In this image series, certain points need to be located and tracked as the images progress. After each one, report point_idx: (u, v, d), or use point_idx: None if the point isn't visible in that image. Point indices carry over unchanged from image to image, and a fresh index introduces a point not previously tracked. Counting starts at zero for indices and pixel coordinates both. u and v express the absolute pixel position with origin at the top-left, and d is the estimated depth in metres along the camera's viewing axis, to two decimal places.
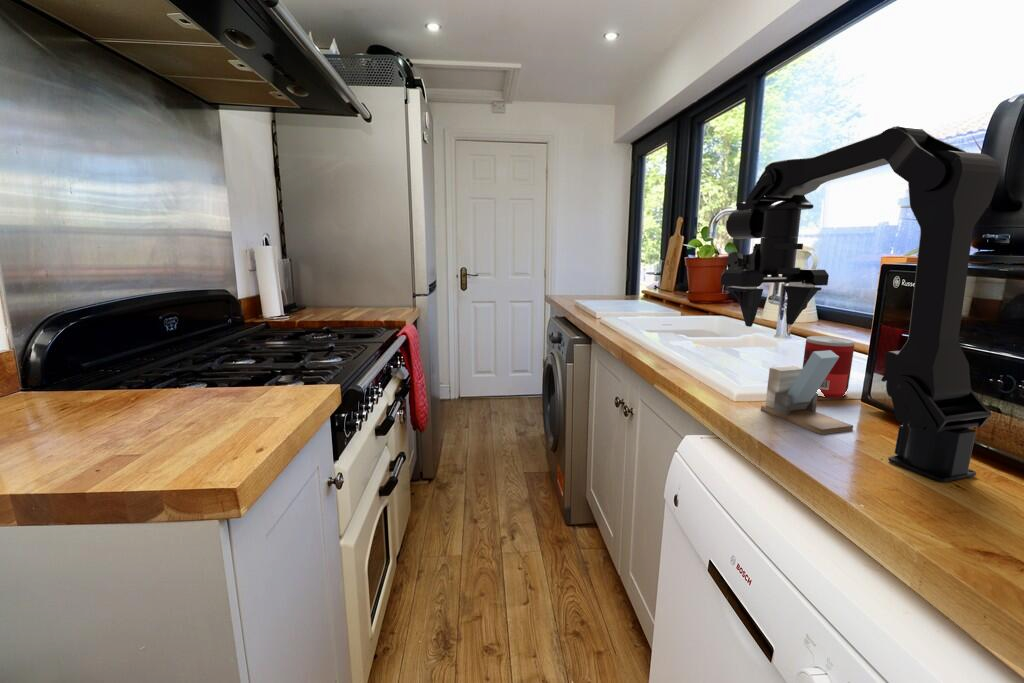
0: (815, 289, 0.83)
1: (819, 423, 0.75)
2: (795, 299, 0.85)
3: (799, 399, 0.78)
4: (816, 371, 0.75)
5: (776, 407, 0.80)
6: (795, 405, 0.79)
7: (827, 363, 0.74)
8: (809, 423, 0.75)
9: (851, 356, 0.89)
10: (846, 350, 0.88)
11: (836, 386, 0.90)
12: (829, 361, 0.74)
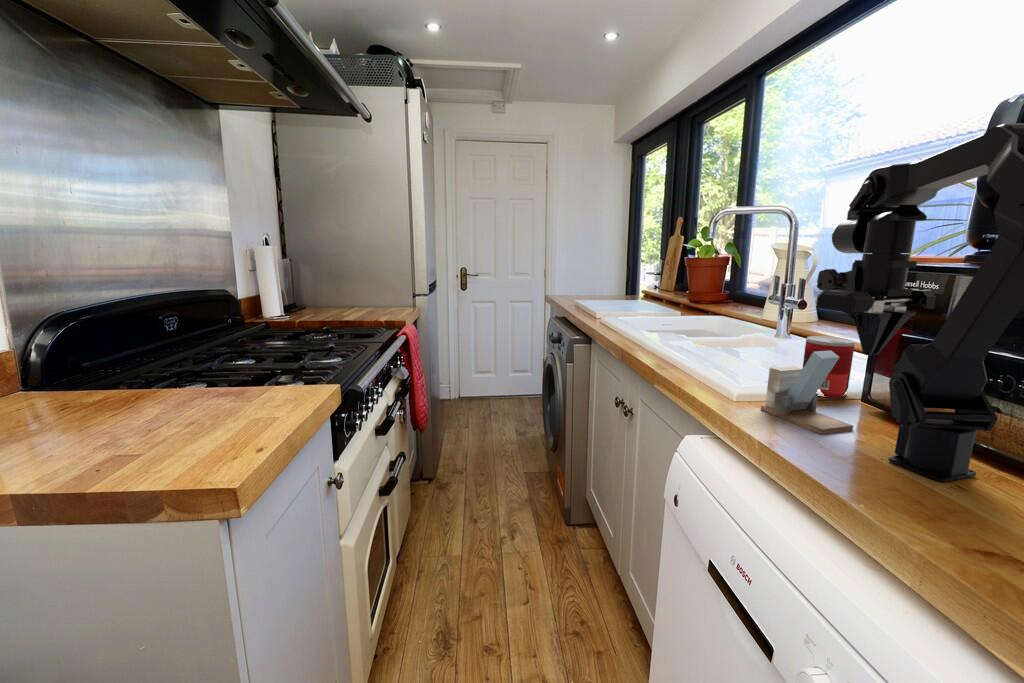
0: (908, 314, 0.70)
1: (819, 423, 0.75)
2: None
3: (799, 399, 0.78)
4: (816, 371, 0.75)
5: (776, 407, 0.80)
6: (795, 405, 0.79)
7: (827, 363, 0.74)
8: (809, 423, 0.75)
9: (851, 356, 0.89)
10: (846, 350, 0.88)
11: (836, 386, 0.90)
12: (829, 361, 0.74)
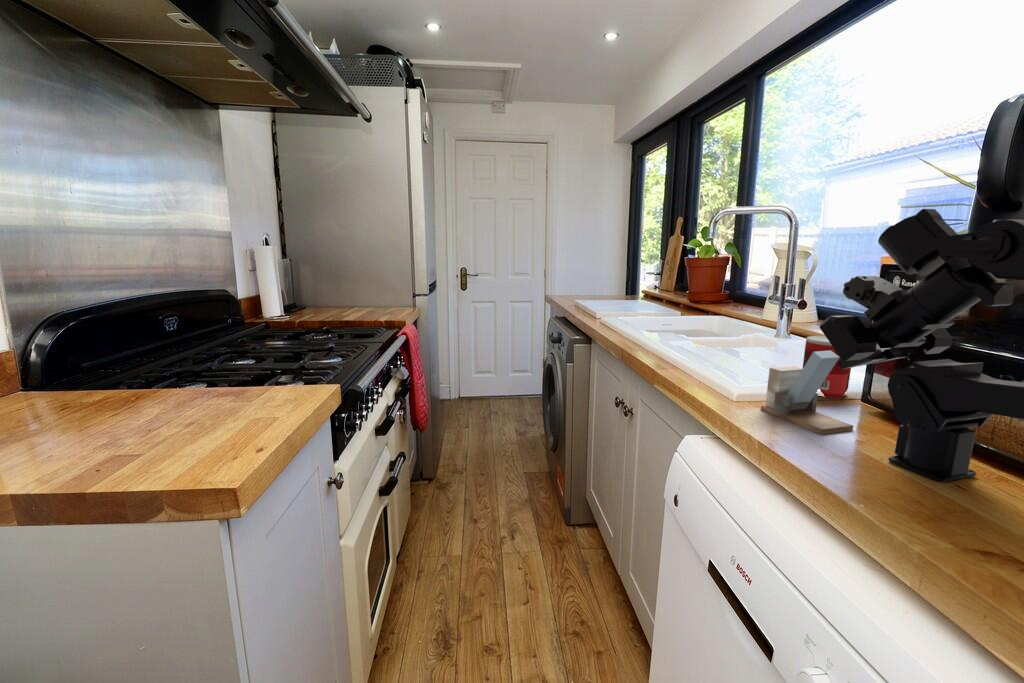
0: None
1: (819, 423, 0.75)
2: None
3: (799, 399, 0.78)
4: (816, 371, 0.75)
5: (776, 407, 0.80)
6: (795, 405, 0.79)
7: (827, 363, 0.74)
8: (809, 423, 0.75)
9: None
10: None
11: (836, 386, 0.90)
12: (829, 361, 0.74)
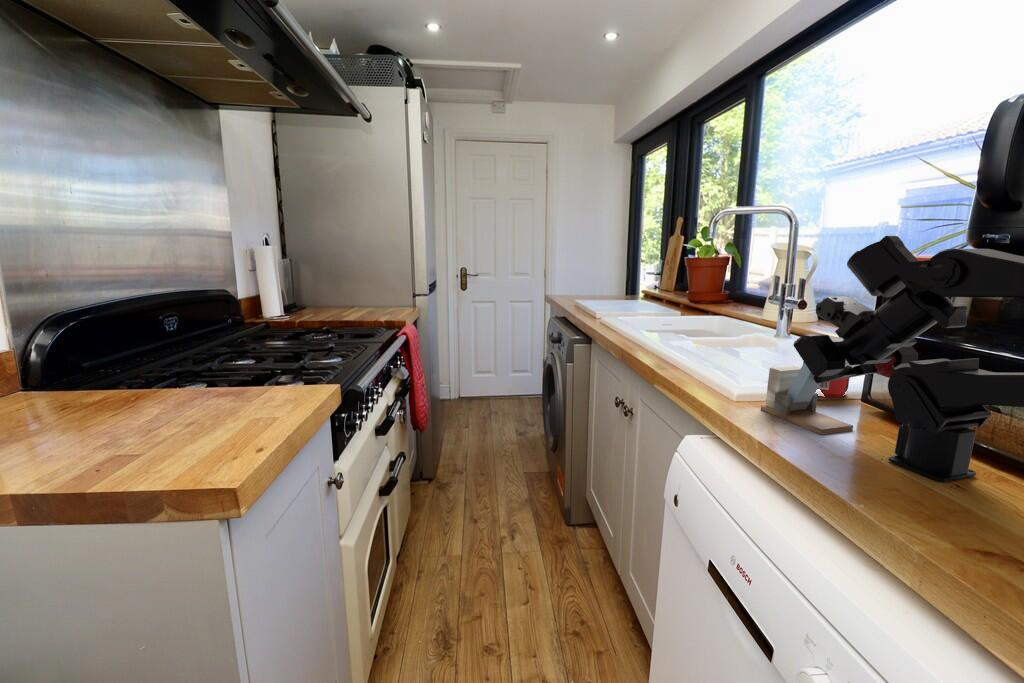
0: (868, 373, 0.70)
1: (819, 423, 0.75)
2: None
3: (799, 399, 0.78)
4: None
5: (776, 407, 0.80)
6: (795, 405, 0.79)
7: None
8: (809, 423, 0.75)
9: None
10: None
11: (836, 386, 0.90)
12: None
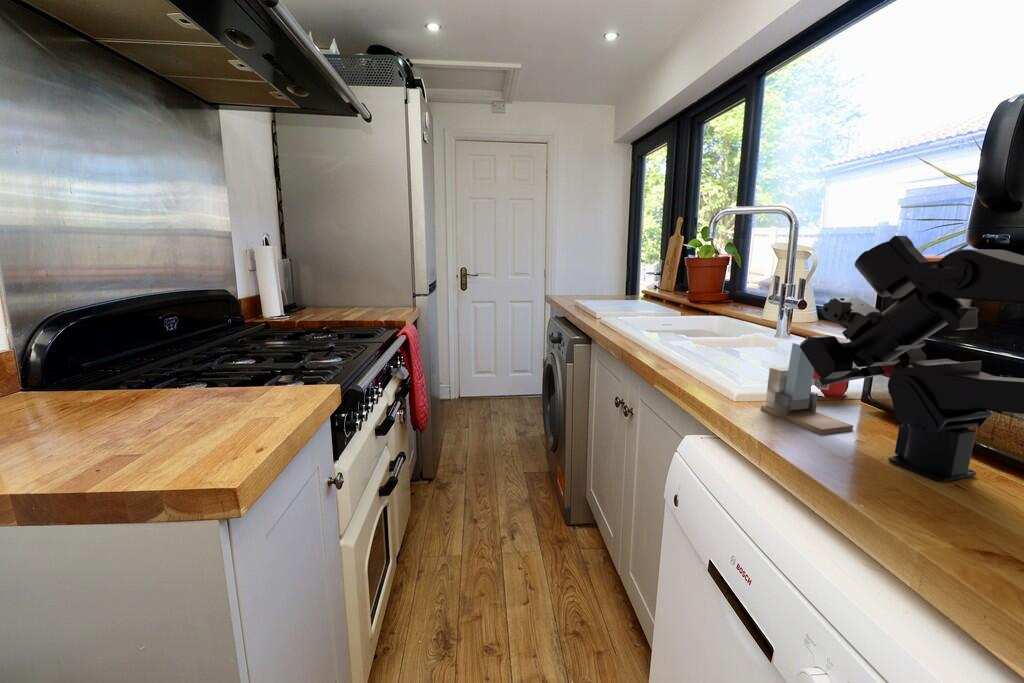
0: (876, 375, 0.69)
1: (819, 423, 0.75)
2: None
3: (797, 395, 0.79)
4: (802, 361, 0.77)
5: (776, 407, 0.80)
6: (795, 403, 0.79)
7: None
8: (809, 423, 0.75)
9: None
10: None
11: (836, 386, 0.90)
12: None
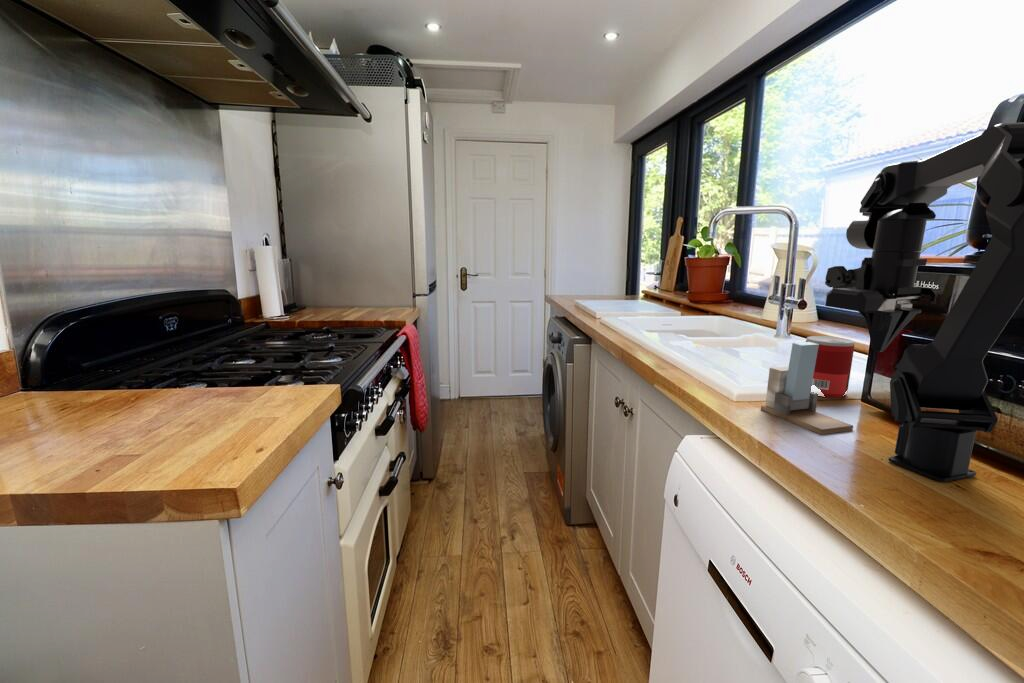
0: (914, 312, 0.70)
1: (819, 423, 0.75)
2: None
3: (797, 395, 0.79)
4: (802, 361, 0.77)
5: (776, 407, 0.80)
6: (795, 403, 0.79)
7: (809, 351, 0.77)
8: (809, 423, 0.75)
9: (851, 356, 0.89)
10: (846, 350, 0.88)
11: (836, 386, 0.90)
12: (810, 349, 0.77)
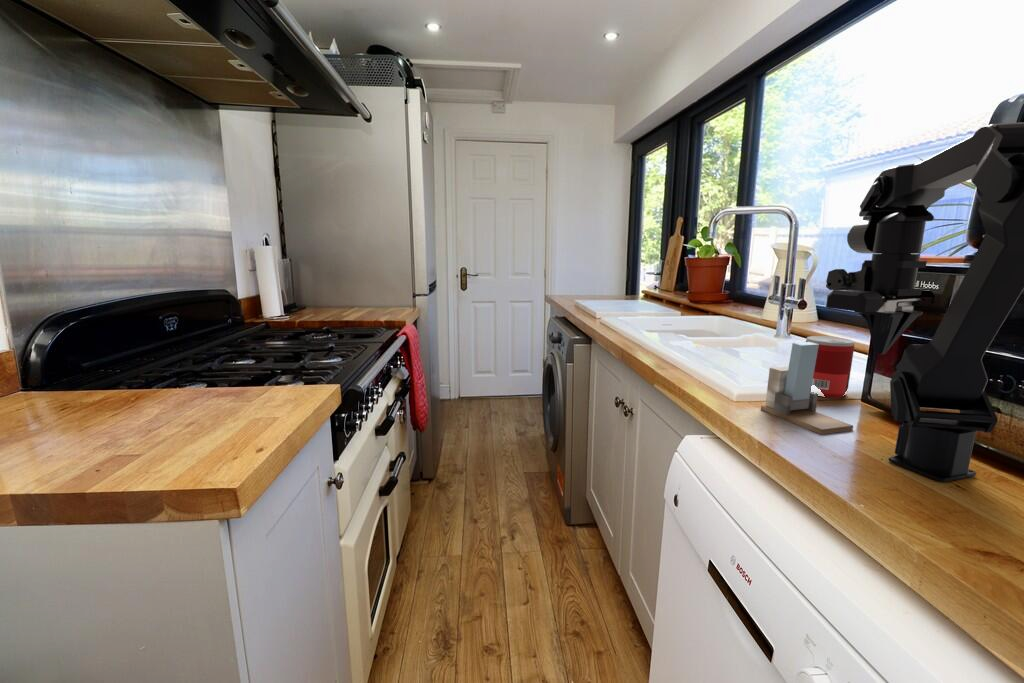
0: (916, 314, 0.71)
1: (819, 423, 0.75)
2: None
3: (797, 395, 0.79)
4: (802, 361, 0.77)
5: (776, 407, 0.80)
6: (795, 403, 0.79)
7: (809, 351, 0.77)
8: (809, 423, 0.75)
9: (851, 356, 0.89)
10: (846, 349, 0.88)
11: (836, 386, 0.90)
12: (810, 349, 0.77)
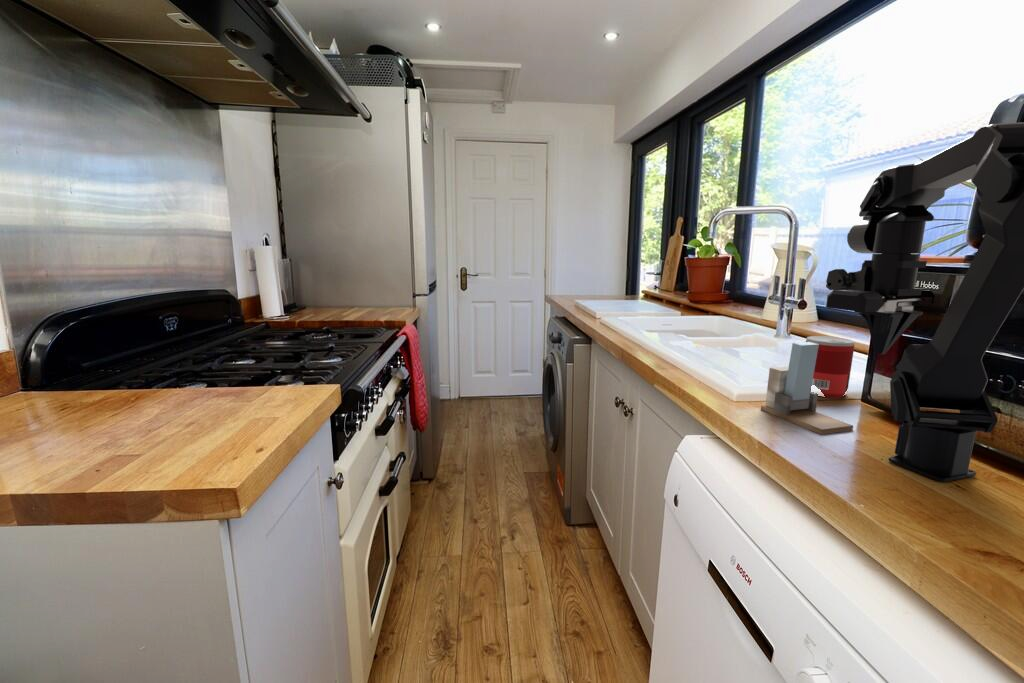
0: (916, 314, 0.71)
1: (819, 423, 0.75)
2: None
3: (797, 395, 0.79)
4: (802, 361, 0.77)
5: (776, 407, 0.80)
6: (795, 403, 0.79)
7: (809, 351, 0.77)
8: (809, 423, 0.75)
9: (851, 356, 0.89)
10: (846, 349, 0.88)
11: (836, 386, 0.90)
12: (810, 349, 0.77)
